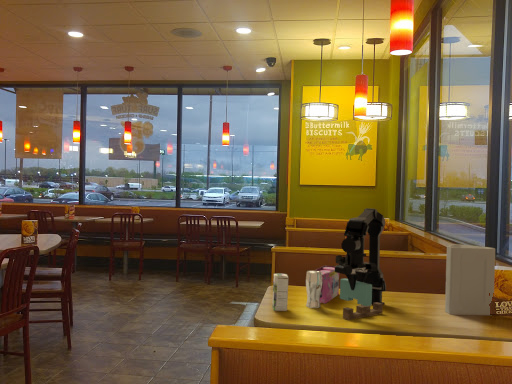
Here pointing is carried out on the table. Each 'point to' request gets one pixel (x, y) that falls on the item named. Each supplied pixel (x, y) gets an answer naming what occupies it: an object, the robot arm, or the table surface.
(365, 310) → the walnut rail
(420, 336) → the table surface
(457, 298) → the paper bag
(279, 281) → the syrup box
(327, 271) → the gum box
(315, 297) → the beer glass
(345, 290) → the teal plate
